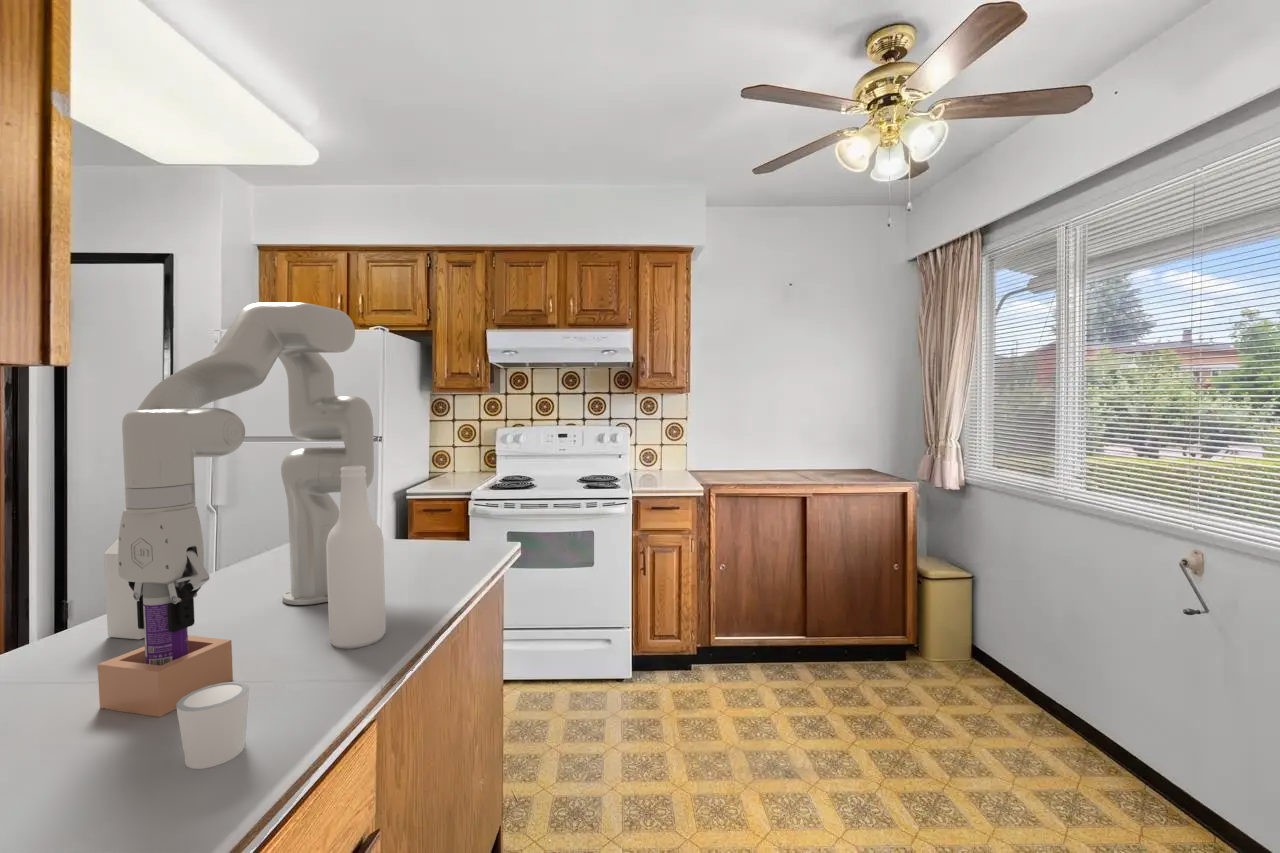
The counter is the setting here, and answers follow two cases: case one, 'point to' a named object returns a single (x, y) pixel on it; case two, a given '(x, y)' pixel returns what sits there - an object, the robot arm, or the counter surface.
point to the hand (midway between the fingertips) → (166, 625)
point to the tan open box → (163, 677)
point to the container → (161, 626)
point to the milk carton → (119, 600)
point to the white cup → (213, 723)
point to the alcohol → (355, 568)
